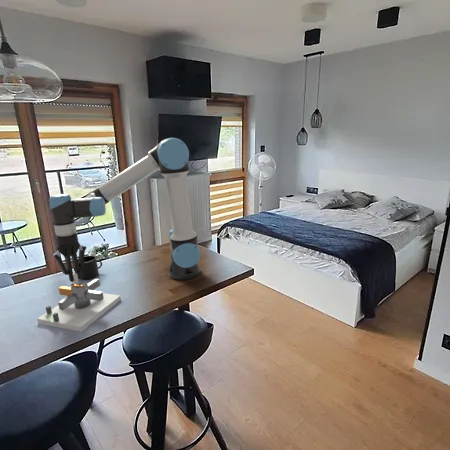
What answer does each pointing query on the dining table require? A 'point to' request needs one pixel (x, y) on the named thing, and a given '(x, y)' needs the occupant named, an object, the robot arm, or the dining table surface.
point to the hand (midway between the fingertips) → (76, 287)
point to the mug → (89, 268)
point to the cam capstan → (80, 294)
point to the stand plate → (78, 314)
